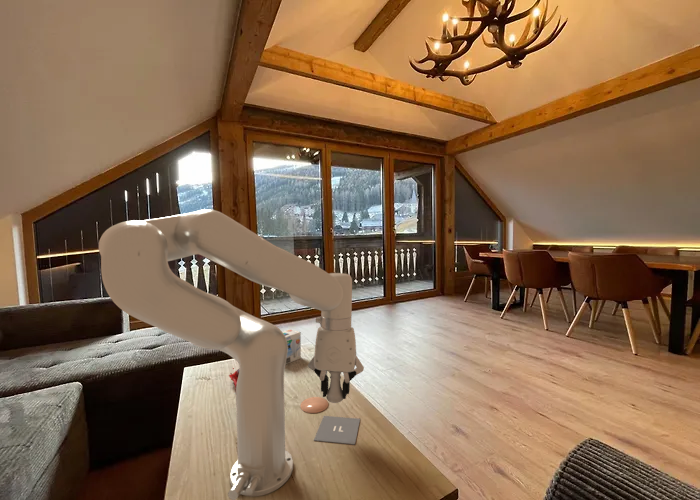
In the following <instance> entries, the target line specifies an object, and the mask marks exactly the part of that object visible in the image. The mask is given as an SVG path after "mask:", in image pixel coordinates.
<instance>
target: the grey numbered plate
mask: <svg viewBox="0 0 700 500" xmlns="http://www.w3.org/2000/svg"><path fill="white" fill-rule="evenodd" d="M360 422H361V418H356V417H346V416H345V417H344V416H333V415H332V416H330V415H323V418H322V419H321V422H320V424H319V426H318V429H317V431H316V434H315V436H314V439H313V441H314V442H325V443H335V444H342V445H343V444H344V445H352V446H353V445H354V446H355V445H356V442H357V436H358V433H359V428H360V427H359V426H360Z"/></svg>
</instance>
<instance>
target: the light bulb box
mask: <svg viewBox="0 0 700 500" xmlns="http://www.w3.org/2000/svg"><path fill="white" fill-rule="evenodd" d="M282 332H283V334H284V335H285V337H286V340H287V345H288V352H287V359H286V364H285V366H286V365H287V364H290V363H292V362H295V361H297V360H299V359H301V358H302V353H301V352H302V345H301V341H302V340H301V339H302V337H301V332H300V331H296V330H294V329H290V328H289V329H286V330H283V331H282Z"/></svg>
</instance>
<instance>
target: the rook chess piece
mask: <svg viewBox="0 0 700 500" xmlns="http://www.w3.org/2000/svg"><path fill="white" fill-rule="evenodd" d="M328 372H329V374H330V376H329V378H330V379H329V380H330V384H329V386H328V391H327V395H326V397H325V399H326V400H327V401H328V403H332V404H339V403H341V402H343V400H344V399H343V398H342V392H343V387H342V385H341V379H342V376H341V374H343V372H334V371H328Z"/></svg>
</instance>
